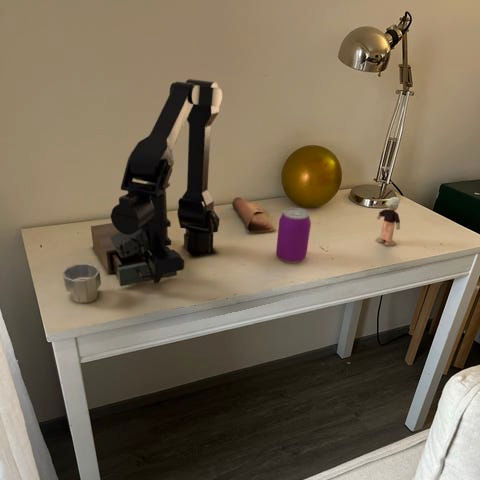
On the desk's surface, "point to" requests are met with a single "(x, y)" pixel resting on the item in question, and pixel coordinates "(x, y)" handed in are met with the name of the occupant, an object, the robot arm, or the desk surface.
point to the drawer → (132, 269)
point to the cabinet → (104, 243)
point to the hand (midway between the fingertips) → (156, 282)
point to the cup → (82, 282)
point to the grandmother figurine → (389, 221)
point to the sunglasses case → (252, 216)
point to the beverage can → (293, 235)
